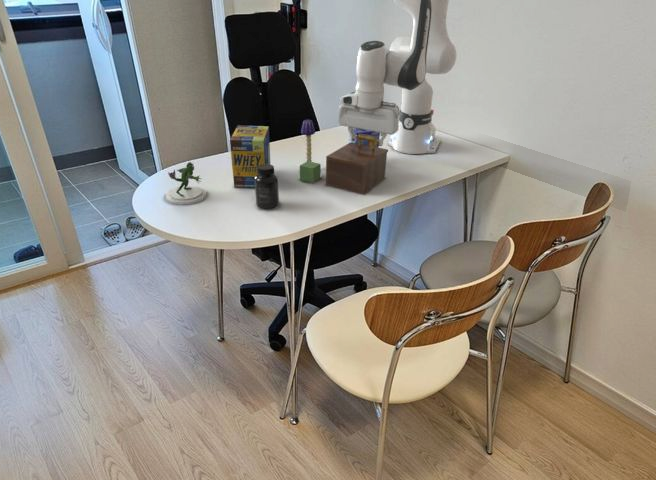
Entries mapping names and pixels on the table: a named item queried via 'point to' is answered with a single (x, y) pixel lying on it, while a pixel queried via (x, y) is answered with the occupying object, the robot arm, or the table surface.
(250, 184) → the protein box
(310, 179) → the green toy block
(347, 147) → the chest lid
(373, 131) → the ink cartridge box
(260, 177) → the supplement bottle
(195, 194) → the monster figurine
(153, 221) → the table surface
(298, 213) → the table surface
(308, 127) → the toy lamp
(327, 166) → the chest
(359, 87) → the robot arm
